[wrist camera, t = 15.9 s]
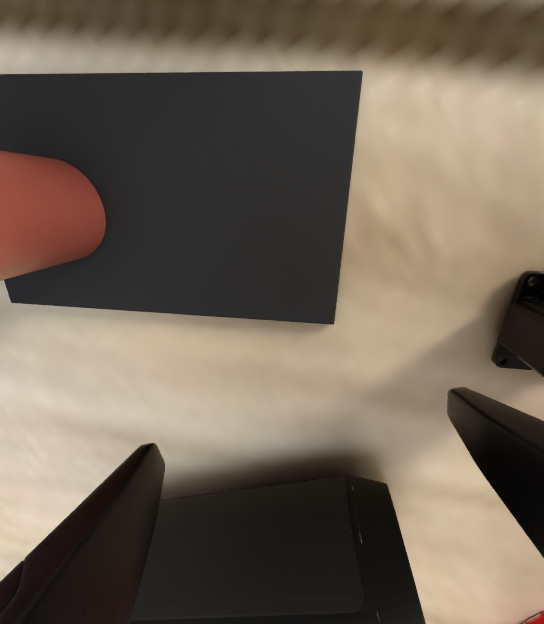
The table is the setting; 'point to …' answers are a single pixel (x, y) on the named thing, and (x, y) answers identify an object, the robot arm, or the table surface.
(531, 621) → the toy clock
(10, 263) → the lidded canister
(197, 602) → the portable speaker
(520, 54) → the table surface
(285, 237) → the desk pad
